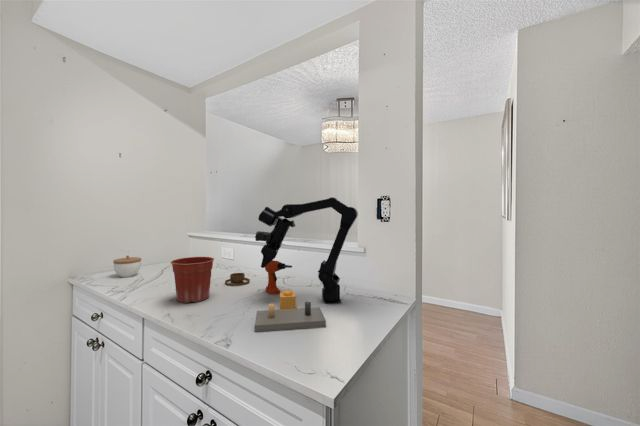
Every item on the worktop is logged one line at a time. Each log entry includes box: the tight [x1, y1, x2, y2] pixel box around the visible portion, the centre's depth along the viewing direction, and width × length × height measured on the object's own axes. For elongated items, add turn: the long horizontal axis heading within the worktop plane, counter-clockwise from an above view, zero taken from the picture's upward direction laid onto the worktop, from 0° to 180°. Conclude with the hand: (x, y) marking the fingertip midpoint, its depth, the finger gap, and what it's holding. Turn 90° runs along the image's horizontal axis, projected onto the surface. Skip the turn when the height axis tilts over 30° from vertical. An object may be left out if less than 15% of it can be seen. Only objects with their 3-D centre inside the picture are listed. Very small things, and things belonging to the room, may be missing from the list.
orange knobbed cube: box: [279, 289, 297, 310], centre depth 105 cm, size 6×6×6 cm
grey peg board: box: [254, 301, 327, 333], centre depth 92 cm, size 22×12×6 cm, turn 100°
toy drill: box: [264, 259, 293, 295], centre depth 121 cm, size 5×19×15 cm, turn 45°
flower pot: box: [170, 256, 215, 304], centre depth 115 cm, size 16×16×16 cm
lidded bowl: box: [112, 255, 142, 278], centre depth 153 cm, size 13×13×11 cm
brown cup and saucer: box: [214, 272, 251, 287], centre depth 141 cm, size 18×20×6 cm
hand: (264, 263), depth 119 cm, fingers open, 9 cm apart
